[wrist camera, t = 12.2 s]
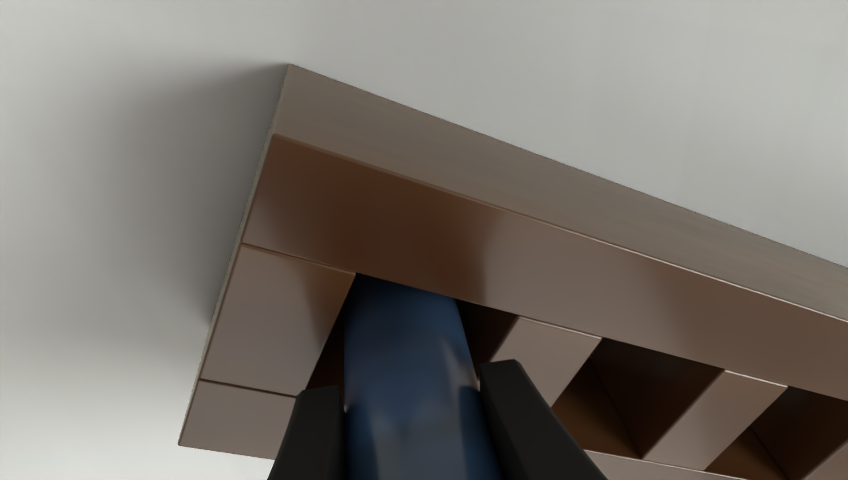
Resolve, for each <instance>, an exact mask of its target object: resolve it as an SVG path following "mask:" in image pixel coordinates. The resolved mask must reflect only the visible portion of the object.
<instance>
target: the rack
mask: <svg viewBox="0 0 848 480" xmlns="http://www.w3.org/2000/svg"><path fill="white" fill-rule="evenodd" d="M356 273H360V274H364V275H368V276H372V277H375V278H379V279H383V280H387V281H391V282H395V283H398V284H402V285H406V286H410V287H414V288H417V289H421V290H425V291H429V292H433V293H437V294H440V295H444V296H448V297H452V298H455V299H456V303H457V306H458V310H459V314H460V318H461V321H462V325H463V329H464V333H465V337H466V340H467V344H468V348H469V352H470V355H471V359H472V363H473V367H474V370H475V374H476V378H477V382H478V385H479V389H480V383H479V364H482V363H488V362H495V361H502V360H509V359H515V360H517V361H518V362H520V363H521V365H522V366H523V368H524V370H525V371H526V373H527V374H528V376H529V377H530V379H531V380H532V382H533V383H534V385H535V386H536V388H537V389H538V391H539V392H540V394H541V395H542V396H543V398H544V399H545V401H546V402H547V403H548V405H549V406H550V408H551V409H552V410H553V412H554V413H555V414H556V416H557V417H558V418H559V420H560V421H561V422H562V424H563V425H564V426H565V428H566V429H567V430H568V431H569V433H570V434H571V435H572V436H573V438H574V439H575V440H576V441H577V443H578V444H579V445H580V446H581V448H582V449H583V450H584V451H585V452H586V454H587V455H588V456H589V457H590V458H591V460H592V461H593V462H594V463H595V465H596V466H597V467H598V468H599V469H600V471H601V472H602V473H603V474H604V475H605V476H606V478H607V479H608V480H848V268H846V267H843V266H840V265H838V264H835V263H832V262H829V261H827V260H824V259H821V258H819V257H816V256H813V255H810V254H808V253H805V252H802V251H799V250H797V249H794V248H791V247H789V246H786V245H783V244H780V243H778V242H775V241H772V240H770V239H767V238H764V237H761V236H759V235H756V234H753V233H750V232H748V231H745V230H742V229H740V228H737V227H734V226H731V225H729V224H726V223H723V222H720V221H718V220H715V219H712V218H710V217H707V216H704V215H701V214H699V213H696V212H693V211H691V210H688V209H685V208H682V207H680V206H677V205H674V204H671V203H669V202H666V201H663V200H661V199H658V198H655V197H652V196H650V195H647V194H644V193H642V192H639V191H636V190H633V189H631V188H628V187H625V186H622V185H620V184H617V183H614V182H612V181H609V180H606V179H603V178H601V177H598V176H595V175H592V174H590V173H587V172H584V171H582V170H579V169H576V168H573V167H571V166H568V165H565V164H563V163H560V162H557V161H554V160H552V159H549V158H546V157H543V156H541V155H538V154H535V153H533V152H530V151H527V150H524V149H522V148H519V147H516V146H513V145H511V144H508V143H505V142H503V141H500V140H497V139H494V138H492V137H489V136H486V135H484V134H481V133H478V132H475V131H473V130H470V129H467V128H464V127H462V126H459V125H456V124H454V123H451V122H448V121H445V120H443V119H440V118H437V117H435V116H432V115H429V114H426V113H424V112H421V111H418V110H415V109H413V108H410V107H407V106H405V105H402V104H399V103H396V102H394V101H391V100H388V99H385V98H383V97H380V96H377V95H375V94H372V93H369V92H366V91H364V90H361V89H358V88H356V87H353V86H350V85H347V84H345V83H342V82H339V81H336V80H334V79H331V78H328V77H326V76H323V75H320V74H317V73H315V72H312V71H309V70H306V69H304V68H301V67H298V66H296V65H293V64H289V65H288V68H287V71H286V74H285V78H284V81H283V84H282V88H281V91H280V94H279V98H278V101H277V104H276V108H275V111H274V114H273V118H272V121H271V124H270V128H269V131H268V134H267V138H266V141H265V144H264V148H263V151H262V155H261V158H260V161H259V164H258V168H257V171H256V174H255V178H254V181H253V184H252V188H251V191H250V194H249V198H248V201H247V204H246V208H245V211H244V214H243V218H242V221H241V224H240V228H239V231H238V234H237V238H236V241H235V244H234V248H233V251H232V254H231V258H230V261H229V264H228V268H227V271H226V274H225V277H224V281H223V284H222V287H221V291H220V294H219V297H218V301H217V304H216V307H215V311H214V314H213V317H212V321H211V324H210V327H209V331H208V335H207V338H206V342H205V345H204V349H203V353H202V356H201V360H200V364H199V367H198V371H197V375H196V378H195V382H194V386H193V389H192V393H191V397H190V400H189V404H188V408H187V411H186V415H185V419H184V422H183V426H182V429H181V433H180V437H179V440H178V445H179V446H184V447H191V448H198V449H204V450H211V451H218V452H225V453H232V454H238V455H245V456H252V457H259V458H266V459H272V460H275V459H276V456H277V454H278V451H279V449H280V446H281V443H282V440H283V438H284V435H285V432H286V429H287V426H288V423H289V420H290V417H291V414H292V411H293V407H294V404H295V400H296V397H297V395H298V394H299V393H300V392H301V391H302V390H307V389H314V388H321V387H327V386H334V385H339V389H340V393H341V397H342V402H343V406H344V410H345V402H344V311H343V310H344V301H345V298H346V296H347V294H348V291H349V289H350V287H351V285H352V282H353V280H354V278H355V276H356ZM602 337H605V338H604V340H603V341H602V342H601V340H602ZM600 342H601V344H600V345H599V346H598V344H599V343H600ZM597 346H598V347H597ZM596 347H597V349H596V350H595V348H596ZM594 350H595V351H594ZM593 351H594V353H593V354H592V352H593ZM591 354H592V355H591ZM590 355H591V358H589V356H590Z"/></svg>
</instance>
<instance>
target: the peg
mask: <svg viewBox="0 0 848 480" xmlns="http://www.w3.org/2000/svg"><path fill="white" fill-rule="evenodd" d="M343 311H344V402H345V443H346V480H504V479H503V475H502V472H501V468H500V464H499V461H498V457H497V454H496V450H495V447H494V443H493V440H492V436H491V432H490V428H489V425H488V421H487V417H486V413H485V410H484V406H483V402H482V398H481V395H480V389H479V385H478V382H477V378H476V374H475V370H474V367H473V363H472V359H471V355H470V352H469V348H468V344H467V340H466V337H465V333H464V329H463V325H462V321H461V318H460V314H459V310H458V306H457V303H456V299H455V298H452V297H448V296H444V295H440V294H437V293H433V292H429V291H425V290H421V289H417V288H414V287H410V286H406V285H402V284H398V283H395V282H391V281H387V280H383V279H379V278H375V277H372V276H368V275H362V276H361V277H360V278H359V279H358V280H357V281H355V283H354V284H353V285H352V286H351V288H350V289H349V291H348V294H347V296H346V298H345V301H344V310H343Z"/></svg>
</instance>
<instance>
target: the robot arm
mask: <svg viewBox="0 0 848 480" xmlns="http://www.w3.org/2000/svg"><path fill="white" fill-rule="evenodd" d="M479 383H480V395H481V398H482V402H483V406H484V410H485V413H486V417H487V421H488V425H489V428H490V432H491V436H492V440H493V443H494V447H495V450H496V454H497V457H498V461H499V464H500V468H501V472H502V475H503V479H504V480H608V479H607V478H606V476H605V475H604V474H603V473H602V472H601V471H600V469H599V468H598V467H597V466H596V465H595V463H594V462H593V461H592V460H591V458H590V457H589V456H588V455H587V454H586V452H585V451H584V450H583V449H582V448H581V446H580V445H579V444H578V443H577V441H576V440H575V439H574V438H573V436H572V435H571V434H570V433H569V431H568V430H567V429H566V428H565V426H564V425H563V424H562V422H561V421H560V420H559V418H558V417H557V416H556V414H555V413H554V412H553V410H552V409H551V408H550V406H549V405H548V403H547V402H546V401H545V399H544V398H543V396H542V395H541V394H540V392H539V391H538V389H537V388H536V386H535V385H534V383H533V382H532V380H531V379H530V377H529V376H528V374H527V373H526V371H525V370H524V368H523V366H522V365H521V363H520V362H518V361H517V360H515V359H509V360H502V361H495V362H488V363H482V364H479ZM267 480H346V443H345V410H344V406H343V402H342V397H341V393H340V389H339V385H334V386H327V387H321V388H314V389H307V390H302V391H301V392H300V393H299V394H298V395H297V397H296V400H295V404H294V407H293V411H292V414H291V417H290V420H289V423H288V426H287V429H286V432H285V435H284V438H283V440H282V443H281V446H280V449H279V451H278V454H277V456H276V459H275V462H274V464H273V467H272V469H271V472H270V474H269V477H268V479H267Z"/></svg>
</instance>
